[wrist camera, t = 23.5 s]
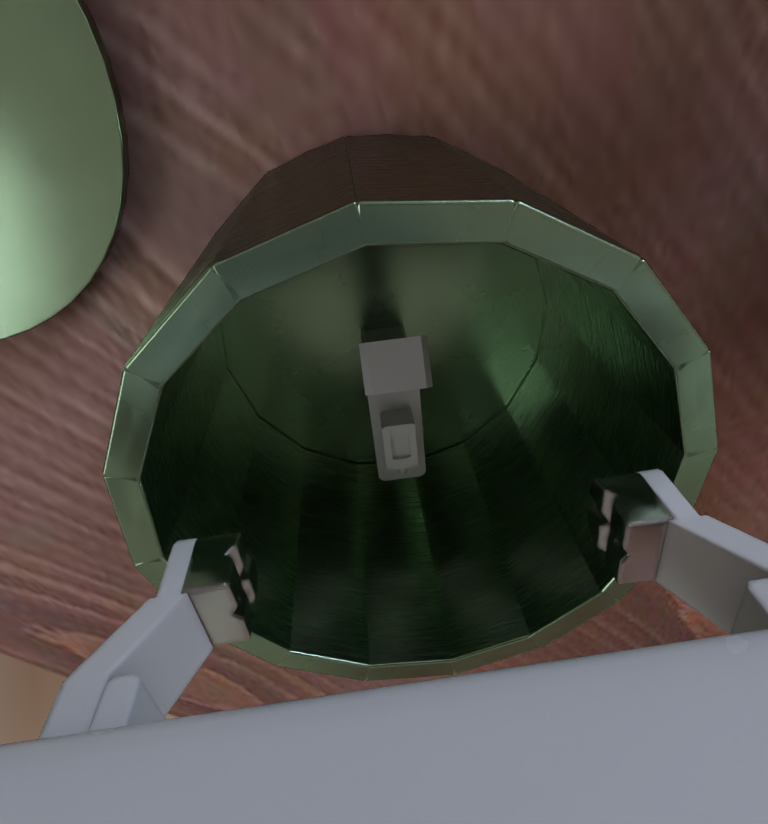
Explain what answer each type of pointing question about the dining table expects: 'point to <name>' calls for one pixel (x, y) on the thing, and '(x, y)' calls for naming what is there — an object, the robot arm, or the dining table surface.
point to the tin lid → (55, 158)
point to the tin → (440, 407)
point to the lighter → (396, 398)
